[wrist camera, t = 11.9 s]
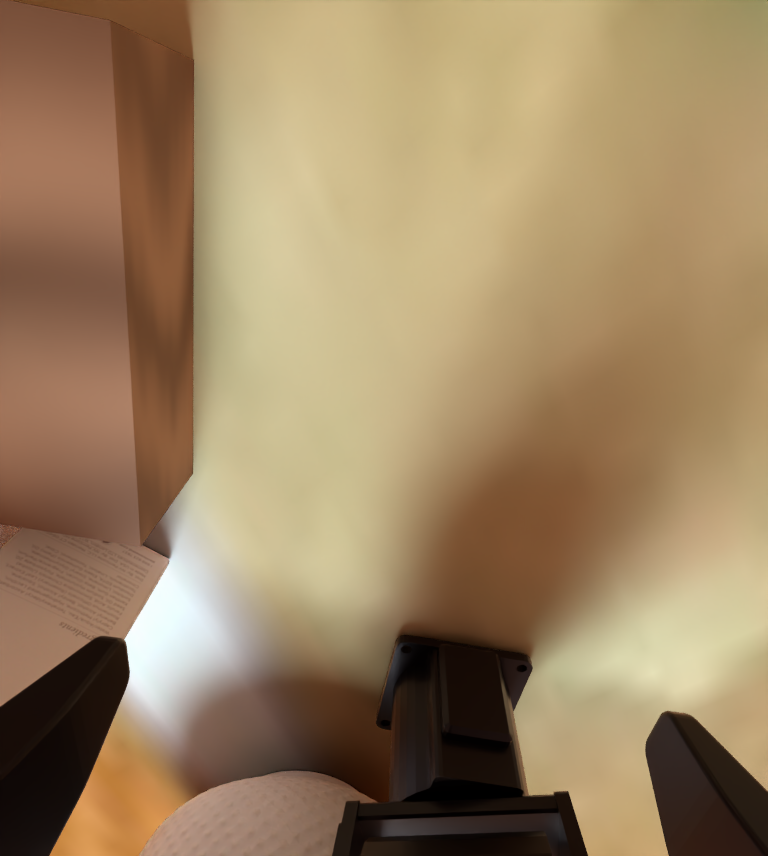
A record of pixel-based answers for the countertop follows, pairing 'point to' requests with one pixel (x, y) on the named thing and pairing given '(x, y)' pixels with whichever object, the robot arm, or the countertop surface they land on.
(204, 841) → the cereal bowl
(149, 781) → the countertop surface
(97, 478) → the walnut block
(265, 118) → the countertop surface
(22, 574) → the small box
